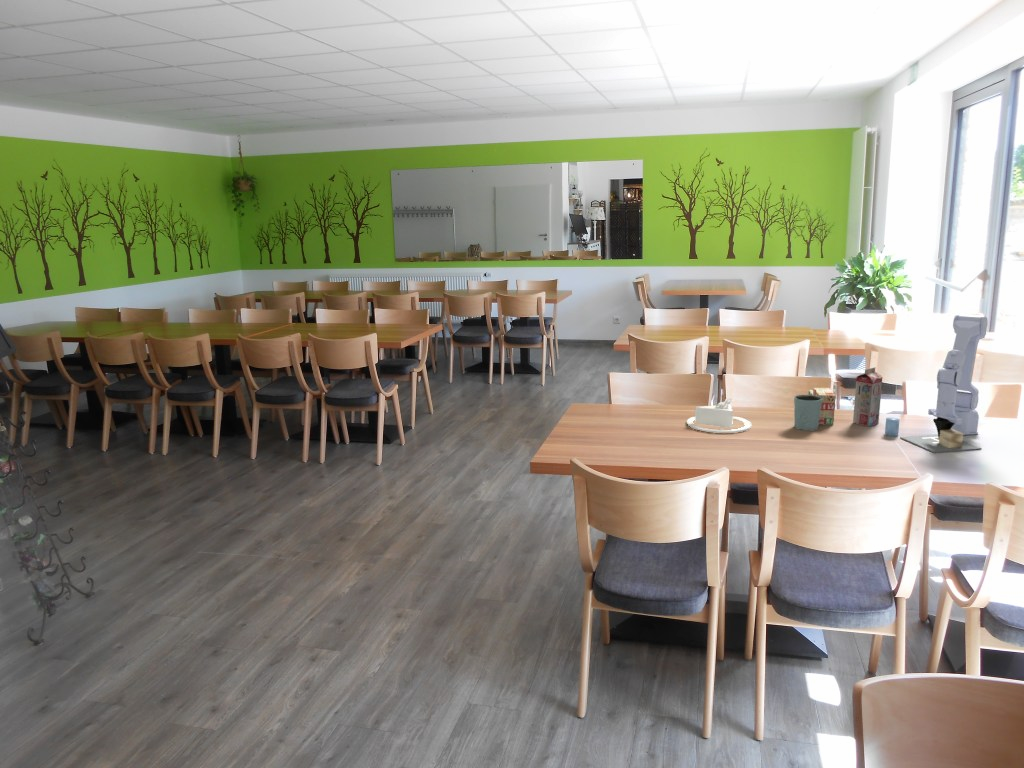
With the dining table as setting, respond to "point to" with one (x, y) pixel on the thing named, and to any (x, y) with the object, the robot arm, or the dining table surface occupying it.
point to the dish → (717, 418)
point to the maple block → (951, 438)
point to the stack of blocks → (825, 404)
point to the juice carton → (867, 398)
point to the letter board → (936, 444)
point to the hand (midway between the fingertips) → (942, 438)
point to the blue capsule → (892, 426)
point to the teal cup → (807, 411)
